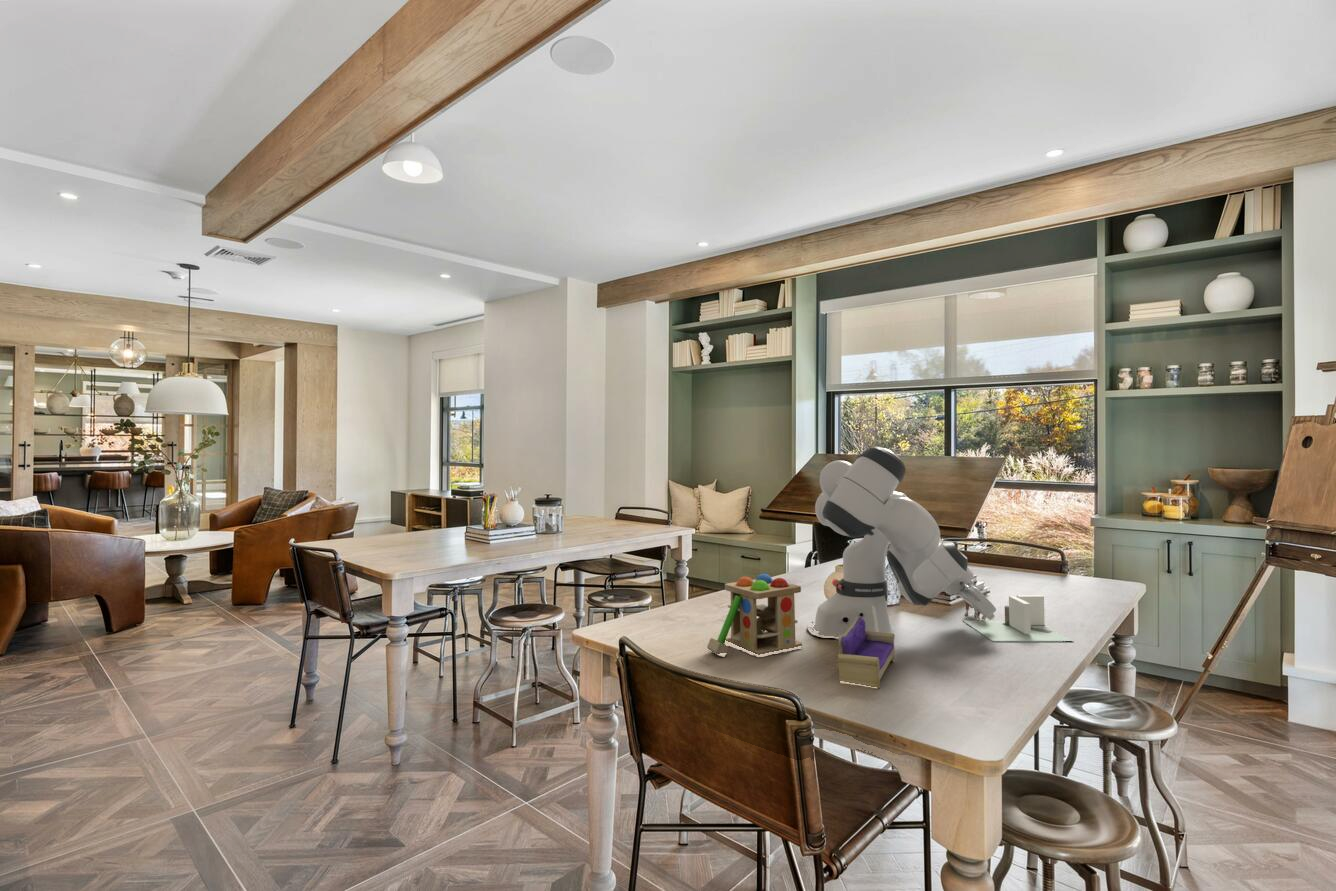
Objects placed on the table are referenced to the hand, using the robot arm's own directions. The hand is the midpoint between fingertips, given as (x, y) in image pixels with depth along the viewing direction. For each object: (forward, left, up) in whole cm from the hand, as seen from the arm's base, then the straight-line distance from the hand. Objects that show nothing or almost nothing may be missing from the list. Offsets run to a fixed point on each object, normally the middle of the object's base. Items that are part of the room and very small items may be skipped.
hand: (990, 616), depth 178 cm
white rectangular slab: (+8, 0, -3) cm, 8 cm away
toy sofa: (-40, -33, -4) cm, 52 cm away
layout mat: (+7, 0, -4) cm, 8 cm away
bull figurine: (+2, +15, -4) cm, 16 cm away
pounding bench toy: (-66, -16, -4) cm, 68 cm away
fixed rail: (+11, +6, -4) cm, 13 cm away
